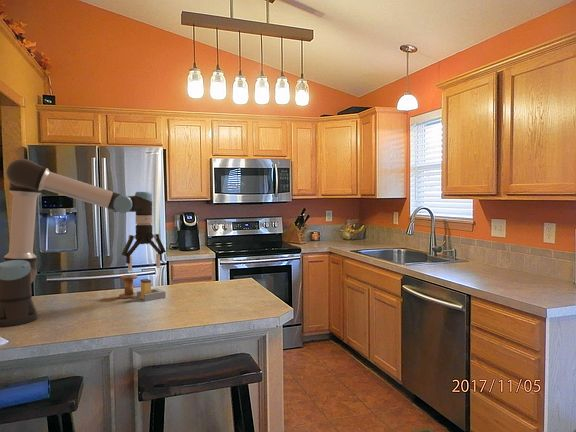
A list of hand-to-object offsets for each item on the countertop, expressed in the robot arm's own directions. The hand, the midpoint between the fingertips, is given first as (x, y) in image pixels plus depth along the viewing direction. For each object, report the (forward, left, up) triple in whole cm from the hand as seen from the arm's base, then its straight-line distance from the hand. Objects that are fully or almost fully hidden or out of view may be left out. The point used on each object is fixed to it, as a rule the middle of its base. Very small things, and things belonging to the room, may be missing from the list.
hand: (144, 269), depth 198 cm
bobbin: (-4, +10, -14) cm, 18 cm away
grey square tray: (+3, 0, -14) cm, 14 cm away
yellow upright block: (0, 0, -14) cm, 14 cm away
